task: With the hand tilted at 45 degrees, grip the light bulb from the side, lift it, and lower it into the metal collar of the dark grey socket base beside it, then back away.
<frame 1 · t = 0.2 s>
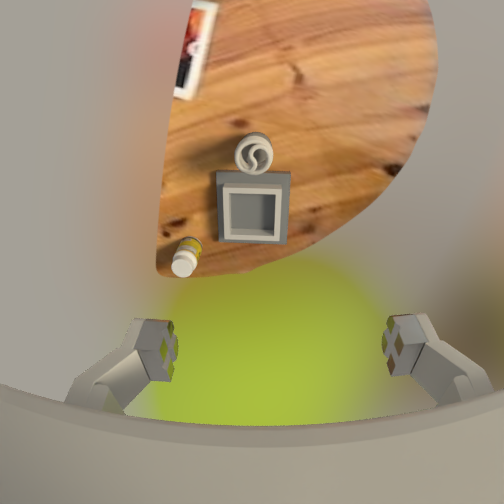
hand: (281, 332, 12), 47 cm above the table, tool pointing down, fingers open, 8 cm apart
bulb socket: (253, 206, 60), on the table
supplement bottle: (191, 245, 65), on the table
light bulb: (256, 143, 54), on the table
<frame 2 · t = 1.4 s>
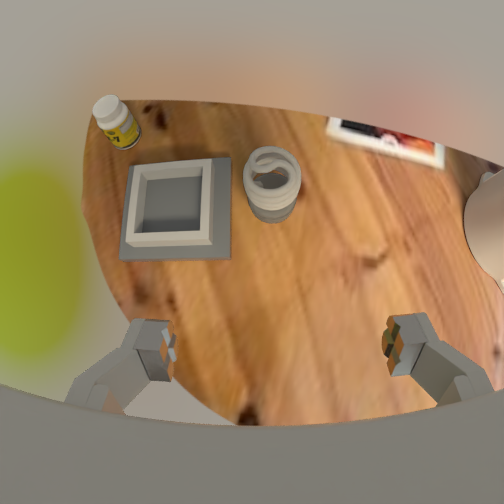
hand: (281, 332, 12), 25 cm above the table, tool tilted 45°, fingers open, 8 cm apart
bulb socket: (177, 210, 40), on the table
supplement bottle: (128, 138, 44), on the table
light bulb: (272, 211, 40), on the table
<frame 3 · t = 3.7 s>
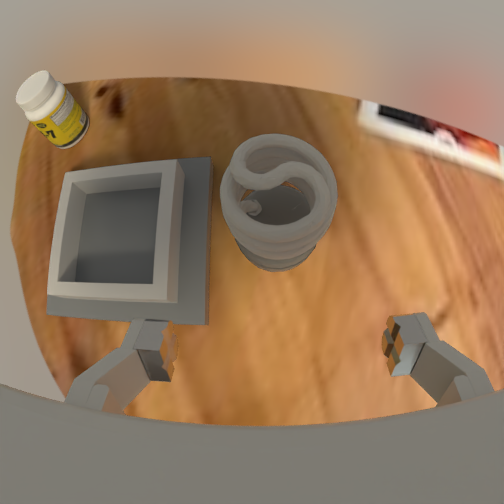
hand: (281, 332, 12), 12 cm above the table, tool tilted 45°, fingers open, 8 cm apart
bulb socket: (128, 241, 25), on the table
supplement bottle: (72, 132, 29), on the table
light bulb: (275, 245, 25), on the table
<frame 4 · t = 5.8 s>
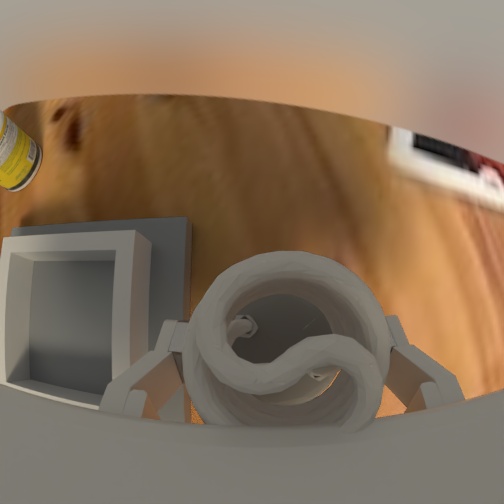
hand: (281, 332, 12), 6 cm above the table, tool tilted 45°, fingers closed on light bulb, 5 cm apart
bulb socket: (86, 326, 18), on the table
supplement bottle: (24, 169, 22), on the table
light bulb: (277, 342, 18), on the table, touching gripper
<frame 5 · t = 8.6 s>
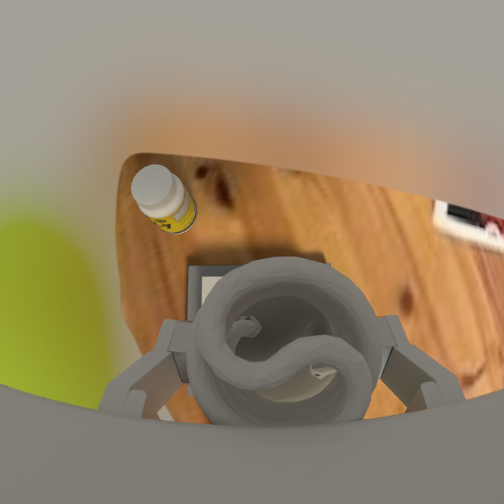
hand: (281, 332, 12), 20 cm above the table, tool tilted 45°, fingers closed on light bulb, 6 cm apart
bulb socket: (260, 332, 31), on the table
supplement bottle: (178, 215, 35), on the table
light bulb: (283, 341, 18), point 13 cm above the table, touching gripper
when the fingers open (9 cm above the table, at t = 11.3 s): light bulb stays where it is, resting on bulb socket.
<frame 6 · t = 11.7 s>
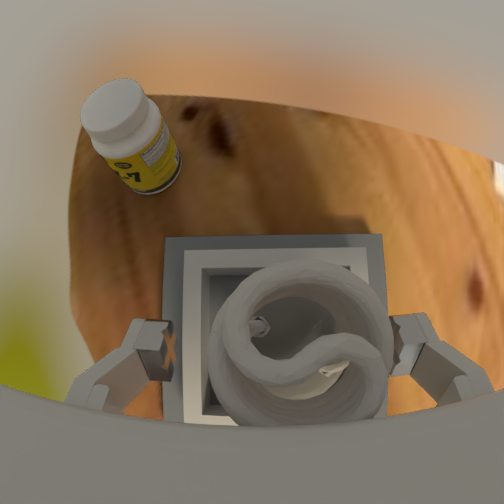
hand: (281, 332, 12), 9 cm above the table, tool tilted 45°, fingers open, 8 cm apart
bulb socket: (275, 340, 20), on the table
supplement bottle: (154, 169, 24), on the table
light bulb: (285, 341, 19), point 1 cm above the table, touching bulb socket
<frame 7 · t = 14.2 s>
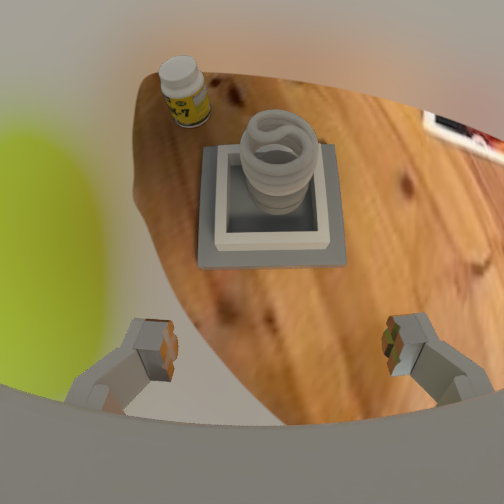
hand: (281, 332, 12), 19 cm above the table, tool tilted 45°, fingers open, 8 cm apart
bulb socket: (270, 205, 33), on the table
supplement bottle: (193, 114, 36), on the table
light bulb: (276, 201, 32), point 1 cm above the table, touching bulb socket
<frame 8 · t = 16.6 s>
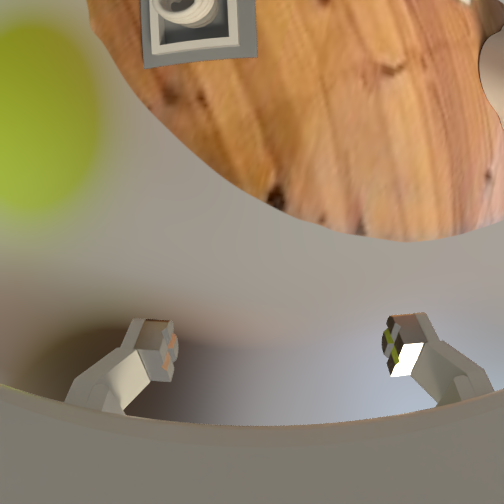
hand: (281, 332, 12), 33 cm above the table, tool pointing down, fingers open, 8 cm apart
bulb socket: (198, 15, 31), on the table
light bulb: (201, 12, 30), point 1 cm above the table, touching bulb socket
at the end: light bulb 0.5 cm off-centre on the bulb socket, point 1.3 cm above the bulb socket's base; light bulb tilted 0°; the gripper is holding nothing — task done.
